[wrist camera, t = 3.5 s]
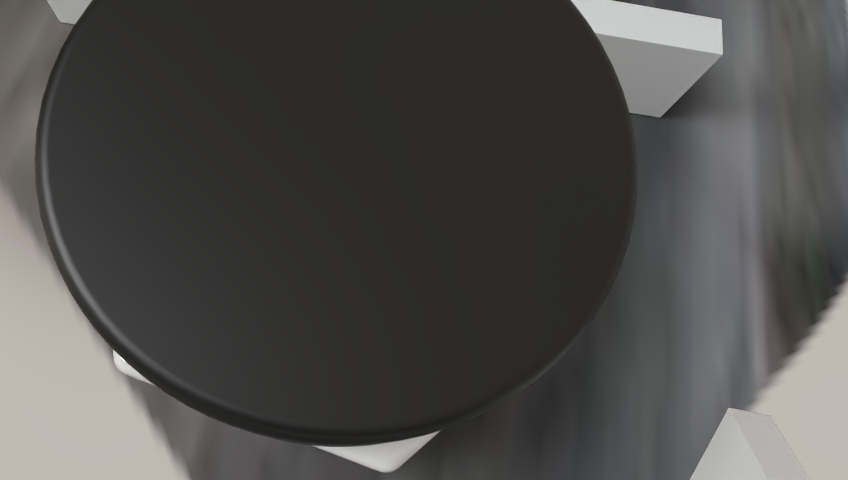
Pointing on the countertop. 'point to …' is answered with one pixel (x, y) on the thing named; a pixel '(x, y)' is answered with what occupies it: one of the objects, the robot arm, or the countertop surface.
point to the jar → (337, 205)
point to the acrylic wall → (617, 47)
